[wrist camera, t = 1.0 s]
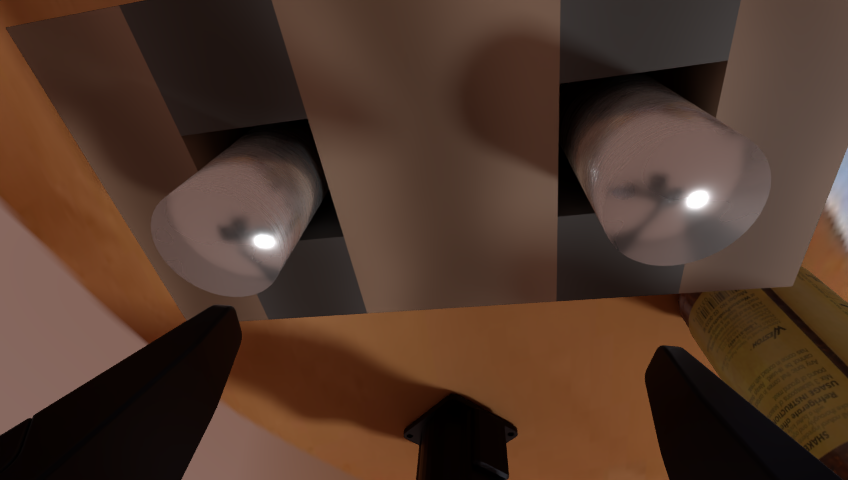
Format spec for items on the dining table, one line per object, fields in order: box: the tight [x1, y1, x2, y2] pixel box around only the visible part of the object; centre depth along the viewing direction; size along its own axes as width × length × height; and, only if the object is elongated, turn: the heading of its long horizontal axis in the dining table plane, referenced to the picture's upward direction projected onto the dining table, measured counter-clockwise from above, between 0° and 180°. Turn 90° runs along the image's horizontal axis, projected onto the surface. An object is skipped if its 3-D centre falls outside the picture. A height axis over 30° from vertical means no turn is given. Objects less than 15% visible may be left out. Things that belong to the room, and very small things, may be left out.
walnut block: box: [6, 0, 848, 321], centre depth 17 cm, size 24×12×7 cm, turn 99°
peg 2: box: [559, 72, 771, 266], centre depth 13 cm, size 4×4×7 cm
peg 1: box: [151, 119, 329, 297], centre depth 15 cm, size 4×4×7 cm
